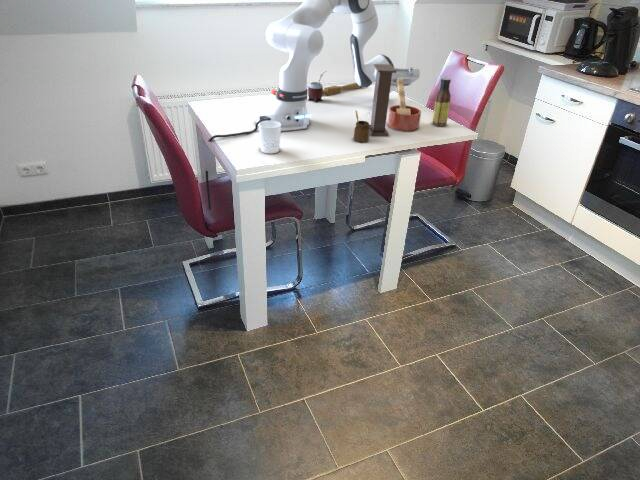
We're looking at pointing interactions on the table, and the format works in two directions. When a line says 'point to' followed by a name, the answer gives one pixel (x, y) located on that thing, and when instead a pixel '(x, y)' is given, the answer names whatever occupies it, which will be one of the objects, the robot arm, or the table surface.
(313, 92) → the mate gourd
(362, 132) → the wooden mate cup
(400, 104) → the light wooden bar
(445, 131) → the table surface
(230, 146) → the table surface
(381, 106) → the stand
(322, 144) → the table surface
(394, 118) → the bowl
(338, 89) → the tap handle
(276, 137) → the white cup
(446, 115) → the sauce bottle
